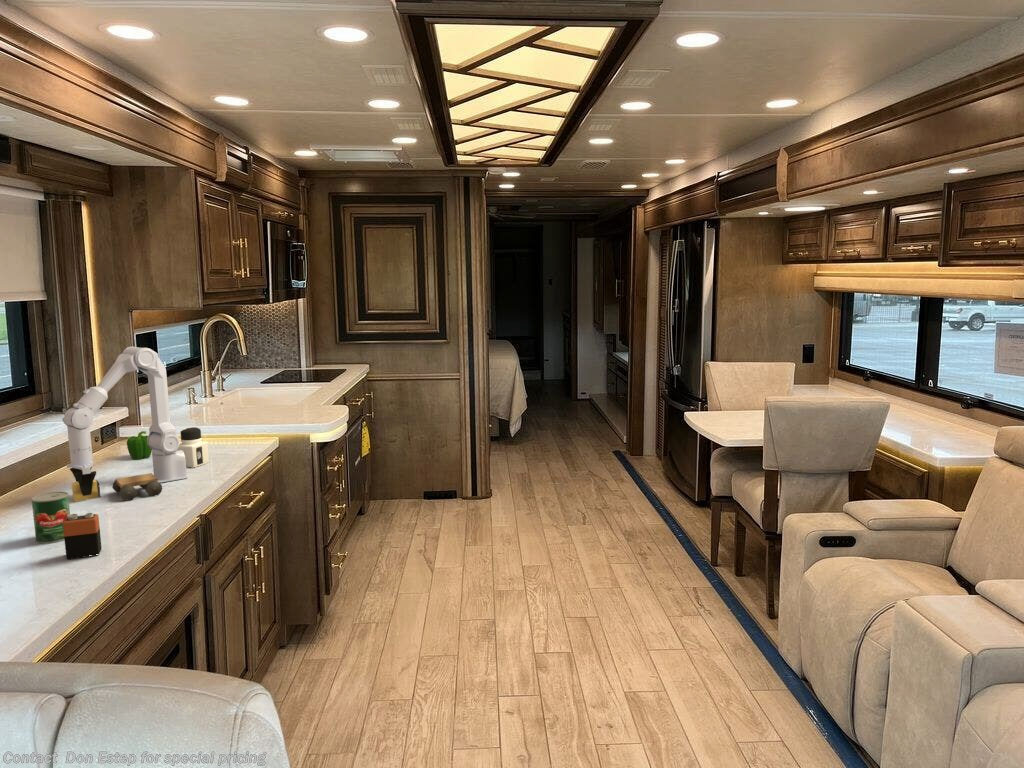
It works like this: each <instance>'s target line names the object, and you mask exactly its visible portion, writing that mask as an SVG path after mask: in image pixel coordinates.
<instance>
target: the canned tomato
mask: <svg viewBox="0 0 1024 768" xmlns="http://www.w3.org/2000/svg"><path fill="white" fill-rule="evenodd" d="M30 501H31V507H32V514H33V515H32V517H33V525H34V536H35V542H36V543H37V544H40V543H48V544H55V543H60V542H63V541H65V540H64V531H63V522H64V521H65V519H66V518H67V516H68V515H70V514H71V512H70V510H71V509H70V500H69V492H66V491H50V492H45V493H41V494H37V495H34V496H33V497H32V498H31V499H30ZM59 541H60V542H59ZM54 542H55V543H54Z"/></svg>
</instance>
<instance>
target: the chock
mask: <svg viewBox="0 0 1024 768" xmlns="http://www.w3.org/2000/svg"><path fill="white" fill-rule="evenodd" d="M100 489H101V488H100V482H99V481H98V480H97V479H95V478H94V480H93V486H92V493H91V495H87V496H83V495H82V492H81V489H80V485H79V482H76V481H72V482H71V491H72V499H73V501H74V502H81V500H82V501H87V500H93V499H99V498H101V490H100Z"/></svg>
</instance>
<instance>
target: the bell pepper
mask: <svg viewBox="0 0 1024 768" xmlns="http://www.w3.org/2000/svg"><path fill="white" fill-rule="evenodd" d="M143 434H144V435H143ZM146 434H147V430H146V431H145V430H141V431H140V432H138V434H137V436H134V435H132V436H130V437H129V438H127V440H126V446H127V447H126V448H127V451H128V453H129V456H130V458H131V459H132V460H142V459H147V458H150V457H151V456H152V449H151V448H150V447H149V446H148V443H147V438H148V436H149V435H146Z"/></svg>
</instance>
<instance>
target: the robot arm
mask: <svg viewBox="0 0 1024 768" xmlns="http://www.w3.org/2000/svg"><path fill="white" fill-rule="evenodd" d="M138 370H139V371H141V372H142V373H144V374H145V375H147V380H148V381H147V382H148V394H149V403H150V414H151V415H150V417H151V424H150V426H149V427H148V428H149V429H148V431H149V432H148V435H147V436H148V438H147V443H148V446H149V447H150V448H151V449H152V452H151V457H152V469H153V470H152V471H153V475H154V476H155V477H157V478H158V482H159V483H160V484H162V483H166V482H167V483H168V482H173V481H177V480H178V481H179V480H183V479H184V480H185V479H188V474H187V467H186V460H185V455H184V452H183V451H182V450H179V451H177V449H178V447H179V445H180V443H181V439H180V438H179V436H178V434H177V429H176V428H175V427H174V425H173V424H172V423H171V412H170V410H171V409H170V400H169V399H170V398H169V389H168V377H167V369H166V366H165V365H164V363H163V362H162V360H161V359H160V357H159V354H158V352H156V351H154V350H153V349H151V348H148V347H137V346H128V347H126V348H125V349H124V350H123V352H122V353H120V354H119V355H118V356H117V358H116V360H115V362H113V365H112V366H111V367H110V368H109V370H108V371H107V372H106V373H105V374H104V376H103V378H102V379H101V380H100V381H99V382H98V384H97V385H96V386H90V387H89V388H86V389H85V390H84V391H83V392H82V393H83V395H82V396H81V398H80V399H79V400H78V401H77V402H74V403H73V404H72V406H73V407H71V408H69V409H67V410H66V411H65V413H64V416H63V417H62V418H61V419H62V422H63V424H65V426H66V427H67V439H68V450H69V457H70V463H68V464H66V466H65V467H66V468H67V469H68V468H69V470H70V472H71V473H72V475H73V477H74V479H75V482H79V485H80V489H81V492H82V495H83V496H87V495H91V493H92V486H93V480H94V479H95V477H96V475H97V471H96V470H95V471H92V467H93V466H94V464H95V461H94V458H93V457H94V456H93V446H92V437H91V428H90V425H92V424H93V421H94V416H95V414H96V413H97V412H98V411H99V410H100V409H101V408H102V406H103V405H104V404H105V402H106V401H107V400H108V399H109V396H108V392H109V391H110V390H111V389H113V387H114V386H115V385H116V384H117V383H118V382H119V381H120V380H121V379H122V378H123V376H124V375H126V374H127V373H132V372H135V371H138Z"/></svg>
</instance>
